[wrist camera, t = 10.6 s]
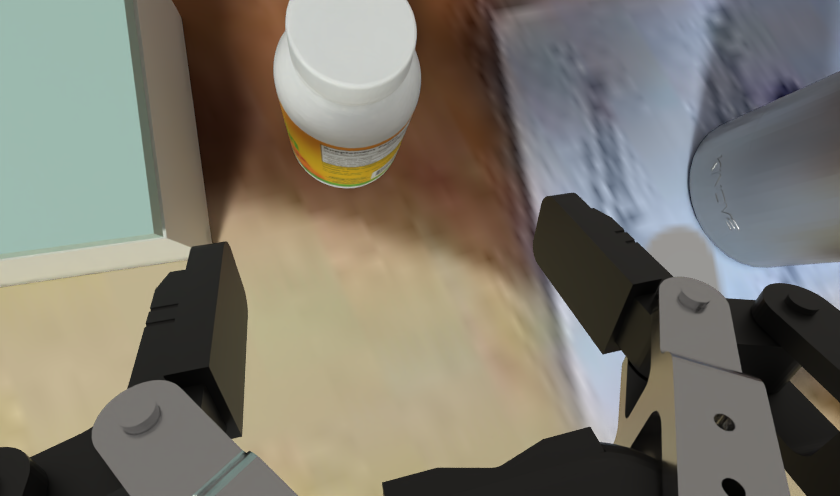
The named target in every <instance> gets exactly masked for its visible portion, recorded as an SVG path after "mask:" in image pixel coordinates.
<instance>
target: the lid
mask: <svg viewBox="0 0 840 496" xmlns="http://www.w3.org/2000/svg"><path fill="white" fill-rule="evenodd" d="M159 237H163V230H162V222H161V214H160V207H159V199H158V191H157V184H156V176H155V168H154V160H153V153H152V145H151V137H150V130H149V122H148V114H147V106H146V99H145V91H144V83H143V76H142V68H141V60H140V52H139V45H138V37H137V29H136V22H135V14H134V6H133V0H0V259H5V258H12V257H19V256H27V255H34V254H42V253H49V252H56V251H64V250H71V249H78V248H86V247H93V246H101V245H108V244H115V243H123V242H130V241H137V240H145V239H152V238H159Z"/></svg>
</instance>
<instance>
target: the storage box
mask: <svg viewBox="0 0 840 496" xmlns="http://www.w3.org/2000/svg"><path fill="white" fill-rule="evenodd" d="M133 6H134V14H135V22H136V29H137V37H138V45H139V52H140V60H141V68H142V76H143V83H144V91H145V99H146V106H147V114H148V122H149V130H150V137H151V145H152V153H153V160H154V168H155V176H156V184H157V191H158V199H159V207H160V214H161V222H162V230H163V237H159V238H152V239H145V240H137V241H130V242H123V243H115V244H108V245H101V246H93V247H86V248H78V249H71V250H64V251H56V252H49V253H42V254H34V255H27V256H19V257H12V258H5V259H0V287H6V286H13V285H20V284H26V283H33V282H40V281H47V280H54V279H61V278H67V277H74V276H81V275H88V274H95V273H101V272H108V271H115V270H122V269H129V268H135V267H142V266H149V265H156V264H163V263H169V262H176V261H183V260H188V257H189V252H190V249H191V247H192V246H198V245H205V244H212V239H211V231H210V224H209V217H208V209H207V202H206V194H205V187H204V180H203V172H202V165H201V157H200V150H199V143H198V135H197V128H196V120H195V113H194V106H193V98H192V91H191V83H190V76H189V68H188V61H187V54H186V46H185V39H184V31H183V24H182V18H181V16H180V14H179V12H178V11H177V9H176V7H175V5H174V3H173V1H172V0H133Z"/></svg>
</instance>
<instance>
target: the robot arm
mask: <svg viewBox="0 0 840 496" xmlns="http://www.w3.org/2000/svg"><path fill="white" fill-rule="evenodd" d="M690 194H691V201H692V205H693V208H694V211H695V214H696V217H697V219H698V221H699V223H700V225H701V227H702V228H703V230H704V232H705V234H706V235H707V236H708V237H709V239H710V240H711V241H712V242H713V244H714V245H715V246H716V247H717V248H719V249H720V250H721V251H722V252H723V253H724V254H726V255H727V256H728V257H730V258H732V259H734V260H736V261H738V262H739V263H742V264H746V265H749V266H752V267H766V268H768V267H781V266H794V265H806V264H819V263H832V262H840V71H839V72H837V73H835V74H832V75H830V76H828V77H826V78H824V79H821V80H819V81H817V82H815V83H813V84H811V85H808V86H806V87H804V88H802V89H800V90H797V91H795V92H793V93H791V94H788V95H786V96H784V97H781V98H779V99H777V100H775V101H773V102H770V103H768V104H766V105H764V106H762V107H760V108H757V109H755V110H753V111H751V112H749V113H746V114H744V115H742V116H740V117H738V118H736V119H733V120H731V121H729V122H727V123H725V124H722V125H720V126H719V127H717V128H716V129H714V130H713V131H712V132H710V133H709V134H708V135H707V136H706V137H705V139H704V140H703V141H702V142H701V143H700V145H699V147H698V149H697V151H696V153H695V155H694V158H693V162H692V166H691V170H690ZM533 252H534V257H535V259H536V262H537V264H538V265H539V267H540V268H541V269H542V271H543V272H544V273H545V275H546V276H547V278H548V279H549V280H550V282H551V283H552V285H553V286H554V287H555V289H556V290H557V292H558V293H559V294H560V296H561V297H562V298H563V300H564V301H565V303H566V304H567V305H568V307H569V308H570V310H571V311H572V312H573V314H574V315H575V317H576V318H577V319H578V321H579V322H580V323H581V325H582V326H583V328H584V329H585V330H586V332H587V333H588V335H589V336H590V337H591V339H592V340H593V342H594V343H595V344H596V346H597V347H598V348H599V350H600V351H601V353H602V354H607V353H611V352H615V351H620V350H622V352H623V353H624V354H625V356H626V357H625V359H624V361H623V363H622V372H621V388H620V404H619V419H618V429H617V434H616V438H615V441H614V444H610V443H603V442H599V441H598V439H597V437H596V436H595V434H594V432H593V431H592V429H591V427H587V428H583V429H580V430H576V431H572V432H568V433H565V434H561V435H557V436H554V437H550V438H546V439H543V440H541V441H540V442H538V443H536V444H535V445H533V446H532V447H530V448H528V449H527V450H525V451H524V452H522V453H521V454H519V455H517V456H516V457H514V458H513V459H511V460H509V461H508V462H506V463H505V464H503V465H501V466H499V467H496V468H435V469H431V470H427V471H423V472H420V473H416V474H412V475H408V476H405V477H401V478H397V479H394V480H390V481H386V482H382V486H383V496H790V492H789V488H788V483H787V479H786V474H785V470H786V472H787V473H788V474H789V475H790V476H791V478H792V479H793V480H794V481H795V482H796V484H797V485H798V486H799V487H800V488H801V490H802V491H803V492H804V493H805V494H806V496H840V431H839V430H838V429H837V428H836V427H835V426H834V425H833V424H832V423H831V422H830V421H829V420H828V419H827V418H826V417H825V416H824V415H823V414H822V413H821V412H820V411H819V410H818V409H817V408H816V407H815V406H814V405H813V404H812V403H811V402H810V401H809V400H808V399H807V398H806V397H805V396H804V395H803V394H802V393H801V392H800V391H799V390H798V389H797V388H796V387H795V386H794V385H793V384H792V383H791V382H790V381H789V380H790V379H791V378H792V377H793V376H794V375H795V374H796V372H797V371H798V370H799V369H800V368H801V367H803V368H804V369H805V370H806V371H807V372H808V373H810V374H811V375H812V376H813V377H814V378H815V379H816V380H817V381H818V382H819V383H820V384H821V385H822V386H823V387H824V388H825V389H826V390H827V391H828V392H829V393H830V394H831V395H832V396H834V397H835V398H836V399H837V400H838V401H839V402H840V311H839V310H838V309H837V308H835V307H834V306H833V305H832V304H830V303H829V302H828V301H826V300H825V299H824V298H822V297H821V296H819V295H817V294H815V293H813V292H811V291H809V290H807V289H805V288H802V287H799V286H795V285H791V284H785V283H775V284H770V285H768V286H766V287H765V288H764V289H763V291H762V292H761V294H760V295H759V297H758V298H757V300H743V299H728V298H725V297H724V296H723V295H722V294H721V293H720V292H719V291H717V290H716V289H714V288H713V287H711V286H710V285H708V284H706V283H704V282H701V281H699V280H695V279H692V278H687V277H673V276H672V275H671V274H670V273H669V272H668V271H667V270H666V269H665V268H664V267H663V266H662V265H661V264H659V263H658V262H657V261H656V260H655V259H654V258H653V257H652V256H651V255H650V254H649V253H648V252H647V251H646V250H645V249H644V248H643V247H642V246H641V245H640V244H639V243H638V242H636V243H635V241H634V239H633V238H632V237H631V236H630V235H629V234H628V233H627V232H624V229H623V228H622V227H621V226H620V225H619V224H618V223H617V222H616V221H615V220H613V219H612V218H611V217H609V216H607V215H606V214H604V213H602V212H600V211H598V210H596V209H594V208H590V207H589V206H588V205H587V204H586V203H585V202H584V201H583V200H582V199H581V198H580V197H579V196H578V195H577V194H575V193H567V194H560V195H553V196H547V197H545V198H544V199H543V201H542V204H541V208H540V213H539V217H538V222H537V227H536V231H535V236H534V240H533ZM150 309H151V312H149V314H148V317H147V321H146V327H145V328H144V332H143V335H142V339H141V342H140V346H139V350H138V353H137V357H136V360H135V364H134V367H133V371H132V375H131V378H130V382H129V385H128V388H127V390H125V391H123V392H122V393H120V394H119V395H117V396H116V397H115V398H113V399H112V400H111V401H110V402H109V403H108V404H107V405H106V406H105V407H104V409H103V410H102V411H101V412H100V414H99V415H98V417H97V419H96V421H95V423H94V426H93V427H92V428H90V429H88V430H87V431H85V432H83V433H81V434H79V435H77V436H75V437H73V438H71V439H69V440H66V441H64V442H62V443H60V444H58V445H56V446H54V447H51V448H49V449H47V450H45V451H43V452H41V453H39V454H36V455H34V456H32V457H28V456H27V455H26V454H25V453H24V452H22V451H21V450H19V449H16V448H11V447H0V496H298V495H297V494H296V493H295V492H294V491H293V490H292V489H291V488H290V487H289V486H288V485H287V484H286V483H285V482H284V481H283V480H282V479H281V478H280V477H279V476H278V475H277V474H276V473H275V472H274V471H273V470H272V469H270V468H269V467H268V466H267V465H266V464H265V463H264V462H263V461H262V460H261V459H260V458H259V457H258V456H257V455H255V454H254V453H252V452H250V451H248V452H247V453H246V452H244V451H243V450H242V449H241V448H240V447H239V446H238V445H237V444H236V443H235V442H234V441H233V440H232V439H233V438H237V437H242V427H243V406H244V384H245V363H246V341H247V320H248V308H247V300H246V294H245V290H244V287H243V284H242V281H241V278H240V275H239V272H238V269H237V266H236V263H235V260H234V257H233V254H232V251H231V248H230V246H229V244H228V242H219V243H212V244H205V245H198V246H192V247H191V249H190V252H189V257H188V262H187V266H186V270H180V271H174V272H170V273H169V274H168V275H167V276H166V277H165V279H164V280H163V281H162V282H161V283H160V285H159V286H158V287H157V288H156V289H155V293H154V296H153V300H152V303H151V307H150ZM784 469H785V470H784Z"/></svg>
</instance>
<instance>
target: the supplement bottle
mask: <svg viewBox="0 0 840 496" xmlns="http://www.w3.org/2000/svg"><path fill="white" fill-rule="evenodd" d="M285 27H286V30H285V32H284V33H283V35H282V37H281V39H280V41H279V43H278V46H277V49H276V52H275V57H274V81H275V86H276V91H277V95H278V99H279V102H280V106H281V110H282V113H283V117H284V121H285V124H286V128H287V131H288V135H289V138H290V142H291V146H292V149H293V151H294V153H295V156H296V158H297V160H298V161H299V163H300V164H301V166H302V167H303V168H304V169H305V170H306V171H307V172H308V173H309V174H310V175H311V176H312V177H314V178H315V179H317V180H318V181H320V182H322V183H324V184H327V185H330V186H334V187H339V188H356V187H361V186H364V185H367V184H369V183H371V182H373V181H375V180H376V179H378V178H379V177H380V176H382V175H383V174H384V173H385V172H386V171H387V169H388V168H389V167H390V165H391V164H392V162H393V160H394V158H395V156H396V154H397V152H398V149H399V147H400V144H401V142H402V139H403V137H404V134H405V132H406V129H407V127H408V125H409V122H410V120H411V118H412V115H413V113H414V110H415V108H416V105H417V102H418V98H419V94H420V87H421V70H420V64H419V60H418V56H417V53H416V51H415V46H416V40H417V28H416V22H415V17H414V14H413V11H412V9H411V7H410V5H409V3H408V1H407V0H290V1H289V4H288V7H287V11H286V25H285Z"/></svg>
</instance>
